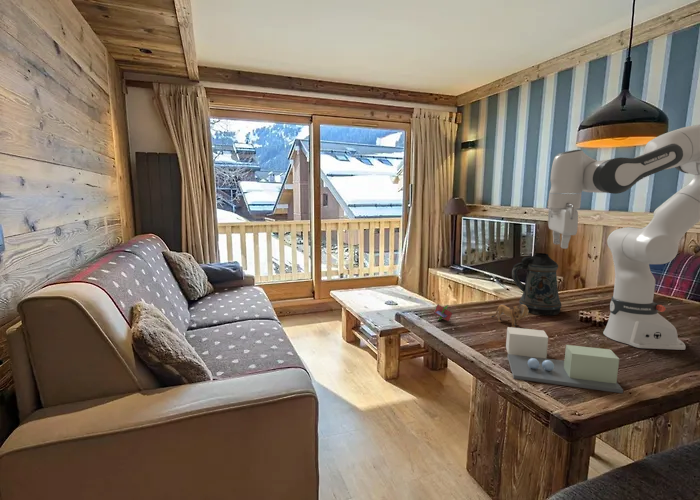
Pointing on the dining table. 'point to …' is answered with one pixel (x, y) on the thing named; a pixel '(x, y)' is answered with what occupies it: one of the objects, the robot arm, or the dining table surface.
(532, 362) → the marble
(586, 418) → the dining table surface
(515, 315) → the lion figurine
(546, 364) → the marble
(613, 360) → the pale green prism
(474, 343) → the dining table surface
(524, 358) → the slate board
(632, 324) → the robot arm
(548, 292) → the beer stein
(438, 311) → the geometric puzzle
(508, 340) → the beige eraser-shaped brick
